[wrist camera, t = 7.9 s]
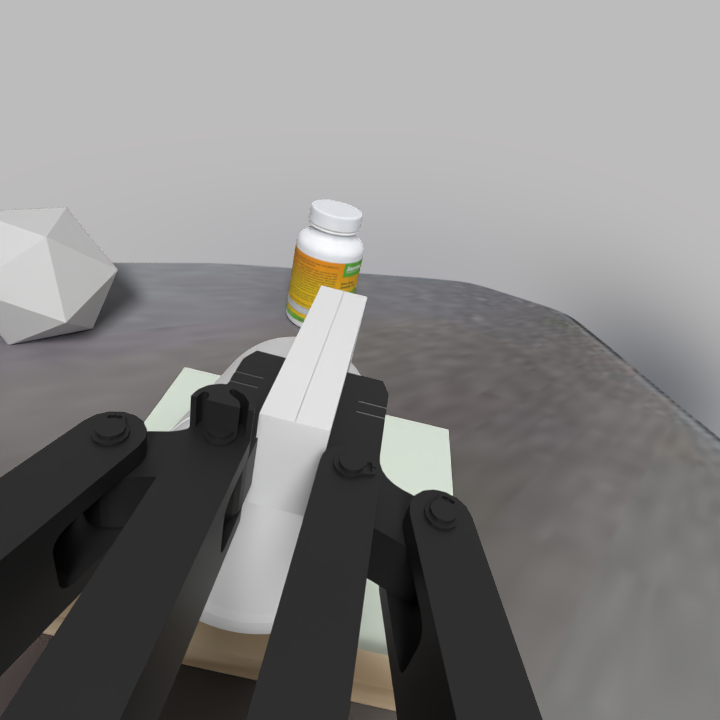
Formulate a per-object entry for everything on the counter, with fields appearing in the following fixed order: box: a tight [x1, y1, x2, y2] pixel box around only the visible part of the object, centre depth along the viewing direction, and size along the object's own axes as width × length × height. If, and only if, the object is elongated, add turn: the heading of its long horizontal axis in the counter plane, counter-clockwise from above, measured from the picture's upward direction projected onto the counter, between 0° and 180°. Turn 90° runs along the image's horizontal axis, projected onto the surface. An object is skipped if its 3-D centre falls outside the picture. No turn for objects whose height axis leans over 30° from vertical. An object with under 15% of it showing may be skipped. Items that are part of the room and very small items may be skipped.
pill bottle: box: [171, 337, 361, 634], centre depth 23 cm, size 8×8×15 cm
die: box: [0, 207, 118, 345], centre depth 32 cm, size 8×9×10 cm
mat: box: [144, 367, 453, 655], centre depth 27 cm, size 16×18×1 cm
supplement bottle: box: [286, 200, 364, 328], centre depth 41 cm, size 5×5×10 cm
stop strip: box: [43, 595, 396, 711], centre depth 19 cm, size 1×16×2 cm, turn 84°
